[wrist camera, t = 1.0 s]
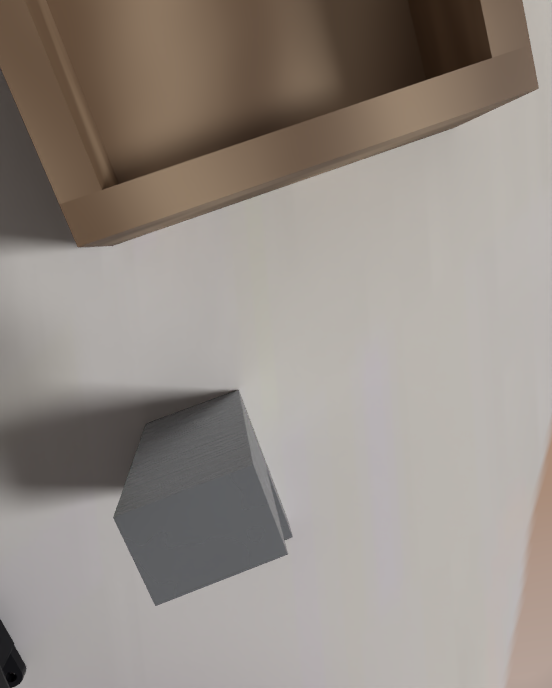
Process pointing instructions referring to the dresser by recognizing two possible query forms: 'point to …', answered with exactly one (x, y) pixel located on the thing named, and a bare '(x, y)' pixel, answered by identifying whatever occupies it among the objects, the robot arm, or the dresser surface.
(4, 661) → the robot arm
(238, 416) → the grey block
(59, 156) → the open wooden box
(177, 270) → the dresser surface
